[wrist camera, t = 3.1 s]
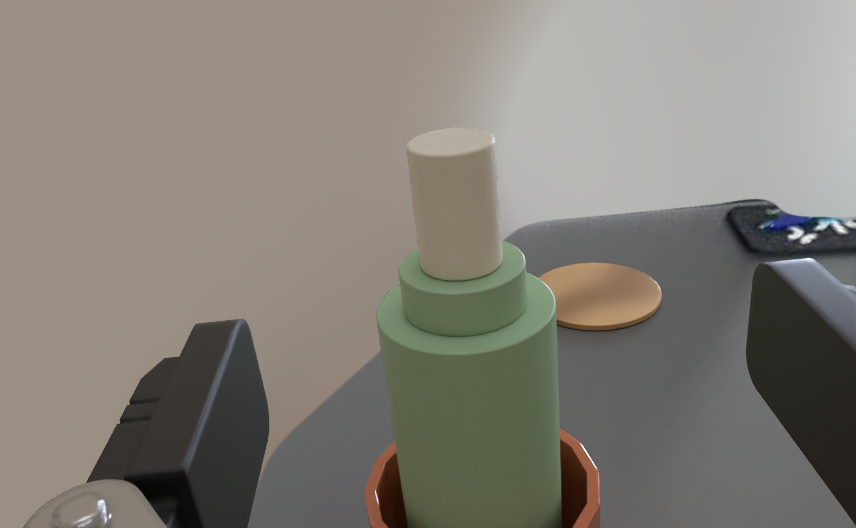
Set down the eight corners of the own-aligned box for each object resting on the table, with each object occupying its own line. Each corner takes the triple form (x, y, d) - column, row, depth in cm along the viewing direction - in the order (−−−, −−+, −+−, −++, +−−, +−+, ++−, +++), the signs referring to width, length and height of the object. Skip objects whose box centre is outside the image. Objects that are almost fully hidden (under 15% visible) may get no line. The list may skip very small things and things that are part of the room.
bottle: (392, 630, 30) (310, 162, 22) (465, 531, 34) (421, 107, 26) (524, 697, 27) (490, 185, 19) (587, 580, 31) (582, 118, 23)
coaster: (506, 314, 52) (506, 309, 52) (560, 259, 59) (560, 254, 59) (635, 342, 47) (635, 337, 47) (678, 280, 54) (678, 275, 54)
